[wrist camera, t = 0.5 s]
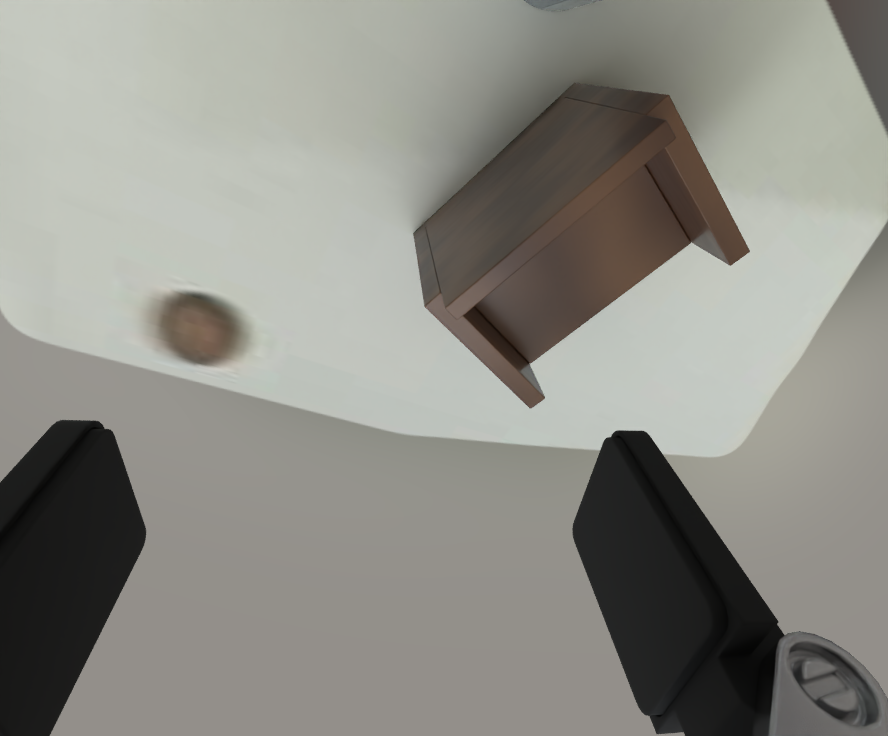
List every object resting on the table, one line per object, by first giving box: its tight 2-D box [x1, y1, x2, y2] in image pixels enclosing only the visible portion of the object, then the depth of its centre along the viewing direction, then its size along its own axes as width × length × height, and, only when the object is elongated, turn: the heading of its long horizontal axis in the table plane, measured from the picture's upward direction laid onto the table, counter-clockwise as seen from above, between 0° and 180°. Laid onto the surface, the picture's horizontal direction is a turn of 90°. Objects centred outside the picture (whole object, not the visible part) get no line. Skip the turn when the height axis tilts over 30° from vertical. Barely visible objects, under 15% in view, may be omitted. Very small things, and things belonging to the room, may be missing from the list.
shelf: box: [414, 83, 750, 408], centre depth 31 cm, size 15×10×15 cm, turn 132°
